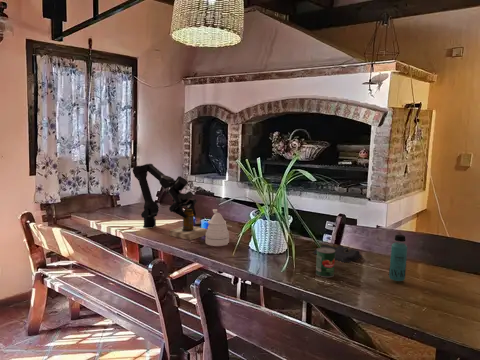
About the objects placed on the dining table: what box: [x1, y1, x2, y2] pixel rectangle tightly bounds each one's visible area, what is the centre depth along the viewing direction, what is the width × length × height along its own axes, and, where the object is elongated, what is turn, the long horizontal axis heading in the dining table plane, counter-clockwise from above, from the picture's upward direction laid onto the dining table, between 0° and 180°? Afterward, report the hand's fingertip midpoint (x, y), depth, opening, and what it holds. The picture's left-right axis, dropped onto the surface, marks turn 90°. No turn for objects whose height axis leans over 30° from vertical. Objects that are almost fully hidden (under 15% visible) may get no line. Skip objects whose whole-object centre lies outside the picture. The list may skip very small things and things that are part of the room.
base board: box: [169, 226, 208, 241], centre depth 243 cm, size 16×16×3 cm
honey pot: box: [205, 209, 230, 247], centre depth 227 cm, size 13×13×18 cm
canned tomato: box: [315, 246, 336, 278], centre depth 181 cm, size 8×8×11 cm
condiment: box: [181, 208, 195, 232], centre depth 241 cm, size 7×8×12 cm
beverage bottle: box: [388, 234, 409, 282], centre depth 173 cm, size 6×7×20 cm
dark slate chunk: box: [312, 244, 363, 264], centre depth 209 cm, size 15×22×5 cm
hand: (190, 216), depth 241 cm, fingers open, 8 cm apart
